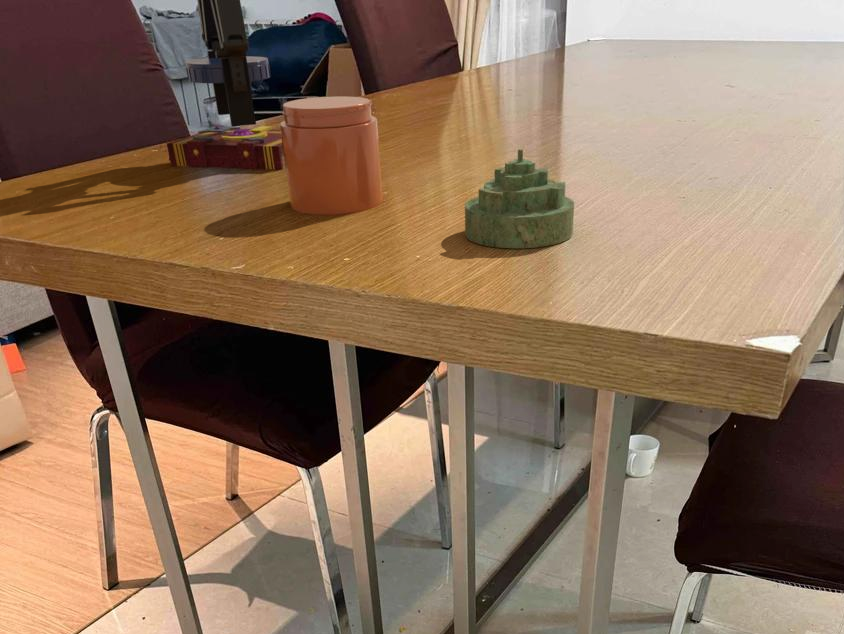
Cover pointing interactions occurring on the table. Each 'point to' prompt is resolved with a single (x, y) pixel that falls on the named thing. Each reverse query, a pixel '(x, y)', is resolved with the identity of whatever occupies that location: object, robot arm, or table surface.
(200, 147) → the decorative book
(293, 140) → the jar
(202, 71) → the lid
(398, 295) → the table surface
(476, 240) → the decorative artifact
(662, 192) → the table surface
